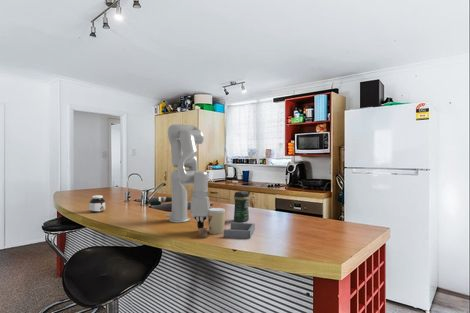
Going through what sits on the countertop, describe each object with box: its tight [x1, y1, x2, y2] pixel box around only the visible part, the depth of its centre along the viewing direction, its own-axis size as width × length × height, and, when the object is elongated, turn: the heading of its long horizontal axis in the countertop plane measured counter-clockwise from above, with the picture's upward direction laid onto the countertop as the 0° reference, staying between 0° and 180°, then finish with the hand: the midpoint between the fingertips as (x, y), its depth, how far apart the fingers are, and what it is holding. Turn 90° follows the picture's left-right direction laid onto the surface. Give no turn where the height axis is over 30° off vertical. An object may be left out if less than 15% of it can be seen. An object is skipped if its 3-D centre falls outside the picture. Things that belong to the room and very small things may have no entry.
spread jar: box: [88, 194, 106, 214], centre depth 202 cm, size 12×11×12 cm
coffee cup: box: [207, 207, 226, 235], centre depth 145 cm, size 9×9×12 cm
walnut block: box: [198, 227, 208, 239], centre depth 136 cm, size 4×4×4 cm
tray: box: [223, 222, 256, 239], centre depth 142 cm, size 13×16×4 cm
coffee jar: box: [233, 190, 250, 223], centre depth 172 cm, size 10×8×19 cm
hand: (200, 228), depth 147 cm, fingers closed
